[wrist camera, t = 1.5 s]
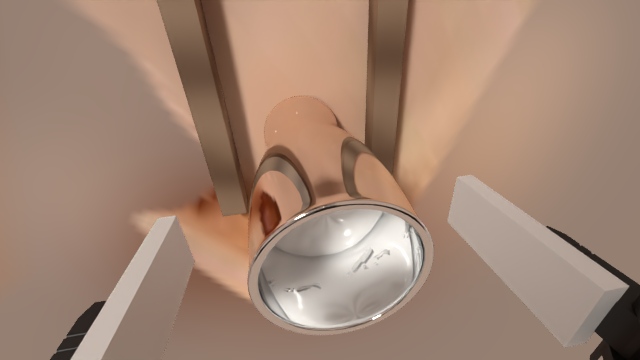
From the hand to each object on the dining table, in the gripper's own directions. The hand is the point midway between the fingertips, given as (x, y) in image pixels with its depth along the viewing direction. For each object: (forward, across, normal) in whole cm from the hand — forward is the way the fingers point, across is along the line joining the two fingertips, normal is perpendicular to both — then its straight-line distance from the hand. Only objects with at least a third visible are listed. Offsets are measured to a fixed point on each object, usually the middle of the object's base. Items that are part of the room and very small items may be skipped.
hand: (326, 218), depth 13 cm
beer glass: (+11, 0, 0) cm, 11 cm away
